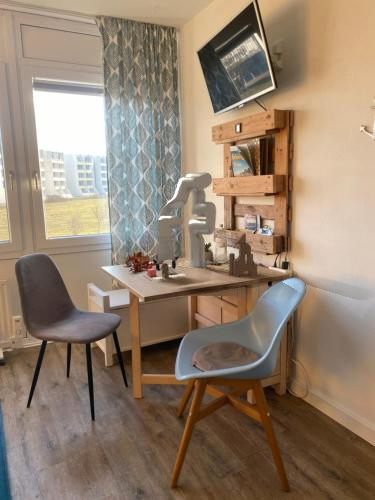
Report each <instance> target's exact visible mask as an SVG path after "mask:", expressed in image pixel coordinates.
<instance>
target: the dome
mask: <svg viewBox="0 0 375 500" xmlns="http://www.w3.org/2000/svg"><path fill="white" fill-rule="evenodd" d="M168 266H169V274H174V273H175V271H176V268H175V269H174V268H172V264H168Z"/></svg>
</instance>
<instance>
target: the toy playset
mask: <svg viewBox="0 0 375 500" xmlns="http://www.w3.org/2000/svg"><path fill="white" fill-rule="evenodd" d="M127 255H128V257H127V258H126V260H125V261H124V264H126V265H123V266H122V267H123V268H128V267H130V268H129V269H128V270H127V272H133V271H134V272H138V273H143V272H146V271H147V269H152V268H153V267H154V266H155V267H156V264H155V263H154V262H152V261H150V259H151V256H152V253H147V254H145V255H143V252H142V251H139V250H138V251H136V252H133V255H130V253H127ZM164 263H165V260H162V261H160V262H159V265H162V264H164Z"/></svg>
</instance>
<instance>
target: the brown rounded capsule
mask: <svg viewBox="0 0 375 500" xmlns="http://www.w3.org/2000/svg"><path fill="white" fill-rule="evenodd" d="M168 265H169V263H165V262H163V264H161V265H160V268H161V276H162V277H161V278H163V279H167V278H168V277H170V276H169V266H168Z"/></svg>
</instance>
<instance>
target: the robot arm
mask: <svg viewBox="0 0 375 500" xmlns="http://www.w3.org/2000/svg"><path fill="white" fill-rule="evenodd" d="M212 183H213V177H212V175H211V173H209V172H190V173H187V174H186V175H185V176H184V177H181V178H180V179H179V180H178V183H177V185H176V189H175V191H174V194H173V197H172V198H171V199H169V201H168V202H167V203H165V205H164V206H163V207H162V208H161V211H160V212H159V215H158V218H157V219H156V227H157V229H156V230H157V242H156V245H155V253H154V254H153V255H150V259H151V262H152V263H155V264H156V265H155V269H156V272H161V269H160V268H161V264H159V262H160V261H162V260H164V261H167V260H168V261H169V260H172V261H171V265H172V268H174V269H175V270H176V268H177V264H176V263H177V262H178V261H177V260H178V259H179V257H180V255H181V254H180V253H179V252H177V251H175V247H174V243H173V240H175V239H174V236H172V230H179V229H180V228H182V226H183V219H182V218H181V217H180V216H179V215H178V216H177V215H171V213H173V212H174V211H175V210H177V209H180V208H182V207H184V206H186V205H187V203H188V200H189V197H190V194H191V207H190V208H191V209H190V212H191V215H192V216H194V217H198V218H193V219H190V220H189V221H188V223H187V231H188V235H189V265H188V267H191V268H202V269H204V270H206V268H207V269H208V265H211V264H212V260H211V261H210V260H206V250H205V247H206V243H205V242H206V241H205V238H204V236H203V235H205V236H206V235H207V236H208V235H213V234H214V232H215V230H216V222H217V221H216V220H217V207H216V204H215V202H212V201H206V198H207V195H206V192H205V189H206V188H208V187H210V185H211V184H212ZM204 218H205V219H204Z"/></svg>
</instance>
